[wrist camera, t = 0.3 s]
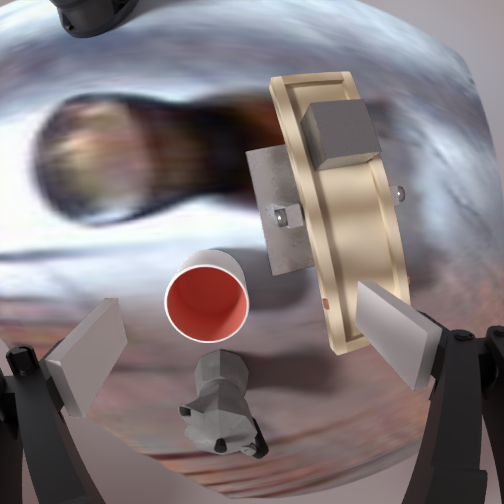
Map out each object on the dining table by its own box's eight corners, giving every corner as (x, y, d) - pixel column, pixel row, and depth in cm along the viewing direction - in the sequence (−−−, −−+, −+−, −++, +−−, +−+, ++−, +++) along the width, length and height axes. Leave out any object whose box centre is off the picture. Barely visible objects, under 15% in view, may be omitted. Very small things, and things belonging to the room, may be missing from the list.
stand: (245, 152, 40) (251, 138, 29) (359, 135, 40) (396, 121, 30) (271, 273, 44) (285, 299, 33) (379, 246, 44) (417, 262, 33)
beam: (266, 92, 32) (268, 77, 29) (343, 84, 33) (351, 71, 29) (326, 346, 33) (334, 356, 30) (400, 321, 34) (414, 327, 30)
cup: (239, 242, 42) (242, 257, 33) (249, 306, 44) (254, 337, 35) (172, 253, 42) (156, 271, 32) (185, 315, 44) (175, 347, 34)
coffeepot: (174, 365, 46) (153, 441, 28) (210, 330, 45) (202, 405, 27) (240, 411, 48) (246, 486, 31) (277, 382, 48) (297, 458, 30)
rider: (300, 122, 30) (309, 103, 25) (347, 117, 30) (363, 98, 26) (314, 171, 30) (327, 158, 25) (362, 163, 31) (381, 151, 26)
